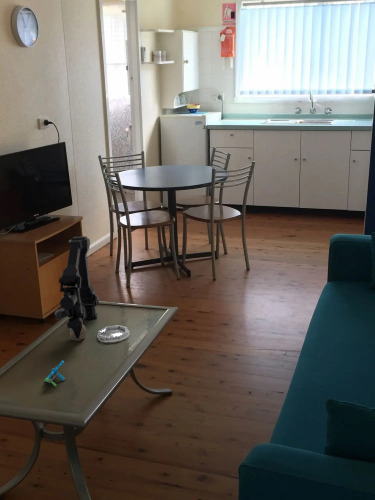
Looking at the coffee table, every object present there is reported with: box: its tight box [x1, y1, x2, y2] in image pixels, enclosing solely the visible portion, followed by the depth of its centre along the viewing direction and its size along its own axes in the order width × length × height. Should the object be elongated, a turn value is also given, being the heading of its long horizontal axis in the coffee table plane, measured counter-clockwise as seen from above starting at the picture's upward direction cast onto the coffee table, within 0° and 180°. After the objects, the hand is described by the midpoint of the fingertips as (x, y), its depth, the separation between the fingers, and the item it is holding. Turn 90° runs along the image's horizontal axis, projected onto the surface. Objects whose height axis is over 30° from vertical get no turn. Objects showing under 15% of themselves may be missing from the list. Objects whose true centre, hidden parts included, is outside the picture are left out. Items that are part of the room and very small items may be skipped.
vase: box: [69, 324, 87, 342], centre depth 248 cm, size 7×7×9 cm
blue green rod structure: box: [43, 360, 66, 387], centre depth 214 cm, size 11×6×10 cm
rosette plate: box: [96, 324, 131, 344], centre depth 250 cm, size 14×14×2 cm
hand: (78, 334), depth 249 cm, fingers closed on vase, 7 cm apart
